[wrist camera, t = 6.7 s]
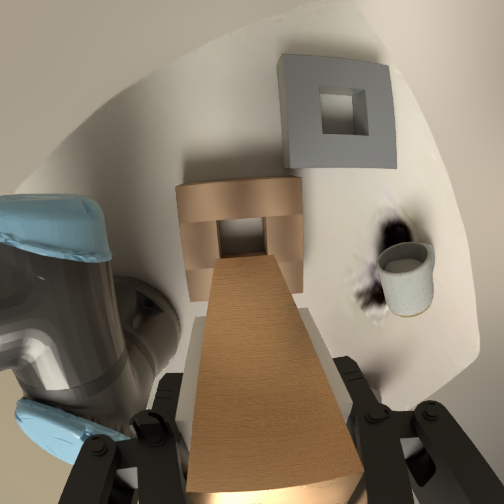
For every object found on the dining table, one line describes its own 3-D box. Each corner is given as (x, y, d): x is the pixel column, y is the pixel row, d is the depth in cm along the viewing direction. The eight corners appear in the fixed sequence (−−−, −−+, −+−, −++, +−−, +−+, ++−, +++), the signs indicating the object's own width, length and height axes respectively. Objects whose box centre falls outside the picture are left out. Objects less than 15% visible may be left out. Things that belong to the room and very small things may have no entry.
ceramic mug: (380, 304, 40) (405, 330, 32) (366, 258, 37) (394, 280, 30) (432, 272, 39) (462, 291, 32) (423, 226, 37) (456, 240, 29)
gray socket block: (283, 167, 33) (290, 168, 29) (276, 65, 29) (282, 54, 25) (381, 167, 34) (396, 169, 30) (374, 73, 30) (388, 65, 26)
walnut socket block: (194, 285, 37) (190, 301, 32) (182, 183, 33) (175, 186, 28) (295, 277, 37) (303, 292, 33) (292, 175, 33) (301, 177, 29)
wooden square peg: (221, 310, 21) (214, 532, 6) (215, 259, 20) (186, 491, 4) (275, 306, 21) (336, 518, 6) (273, 254, 20) (364, 470, 5)
